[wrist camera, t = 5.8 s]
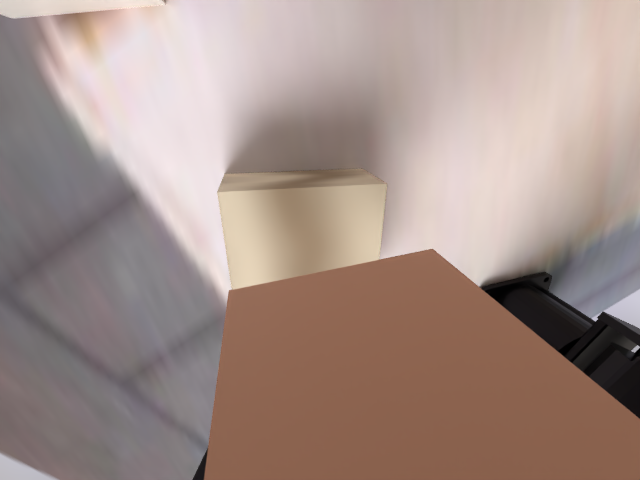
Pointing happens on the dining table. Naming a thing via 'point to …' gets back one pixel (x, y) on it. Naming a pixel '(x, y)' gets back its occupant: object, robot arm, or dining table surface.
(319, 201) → the base block
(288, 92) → the dining table surface
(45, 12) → the offwhite cube
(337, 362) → the terracotta cube
